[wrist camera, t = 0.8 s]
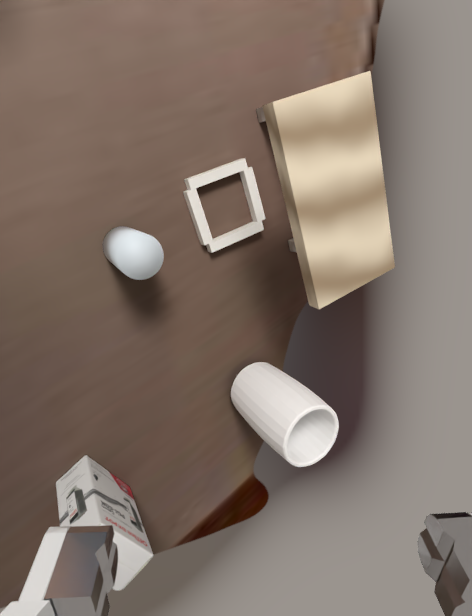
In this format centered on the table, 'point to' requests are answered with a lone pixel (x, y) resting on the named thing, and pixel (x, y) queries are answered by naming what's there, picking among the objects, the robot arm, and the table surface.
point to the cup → (285, 413)
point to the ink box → (105, 513)
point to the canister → (133, 252)
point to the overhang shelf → (332, 185)
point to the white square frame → (198, 212)
